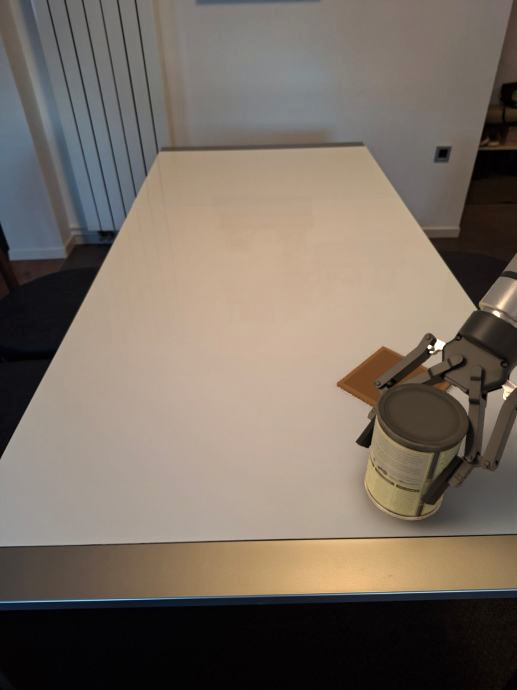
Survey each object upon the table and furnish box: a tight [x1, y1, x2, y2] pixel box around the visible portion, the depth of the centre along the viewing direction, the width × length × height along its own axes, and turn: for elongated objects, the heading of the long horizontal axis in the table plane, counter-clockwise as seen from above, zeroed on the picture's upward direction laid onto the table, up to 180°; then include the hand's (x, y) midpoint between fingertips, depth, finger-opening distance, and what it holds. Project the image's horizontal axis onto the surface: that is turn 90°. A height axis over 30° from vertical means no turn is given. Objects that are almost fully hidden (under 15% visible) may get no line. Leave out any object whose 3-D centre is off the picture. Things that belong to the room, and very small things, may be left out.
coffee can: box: [363, 383, 469, 521], centre depth 62 cm, size 10×10×14 cm
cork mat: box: [336, 345, 452, 408], centre depth 84 cm, size 14×14×1 cm
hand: (392, 472), depth 61 cm, fingers closed on coffee can, 10 cm apart
